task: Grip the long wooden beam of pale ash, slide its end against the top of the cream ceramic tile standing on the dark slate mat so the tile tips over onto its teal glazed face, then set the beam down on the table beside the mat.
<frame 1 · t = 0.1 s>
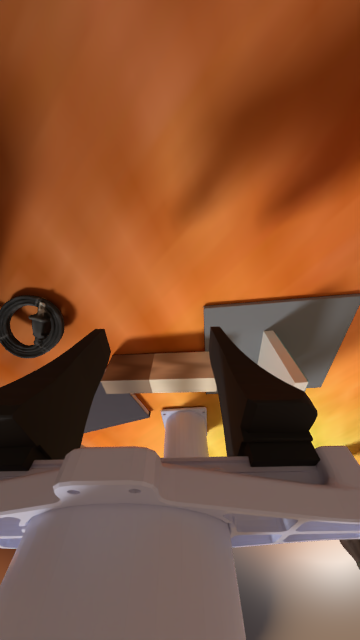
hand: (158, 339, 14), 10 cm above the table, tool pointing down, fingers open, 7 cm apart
tile: (263, 354, 27), point 1 cm above the table, touching slate mat
long wooden beam: (162, 359, 28), on the table, touching slate mat
slate mat: (269, 350, 27), on the table
sauce bottle: (317, 458, 47), on the table
notebook: (81, 402, 35), on the table
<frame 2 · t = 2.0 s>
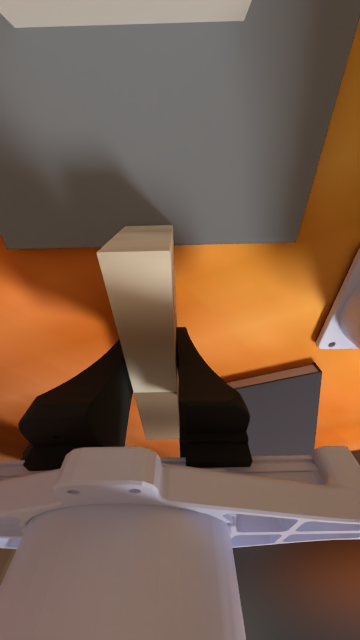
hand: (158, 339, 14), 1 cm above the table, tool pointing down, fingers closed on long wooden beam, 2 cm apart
milk frother: (76, 444, 25), on the table
long wooden beam: (159, 329, 14), on the table, touching gripper, slate mat
notebook: (252, 429, 24), on the table
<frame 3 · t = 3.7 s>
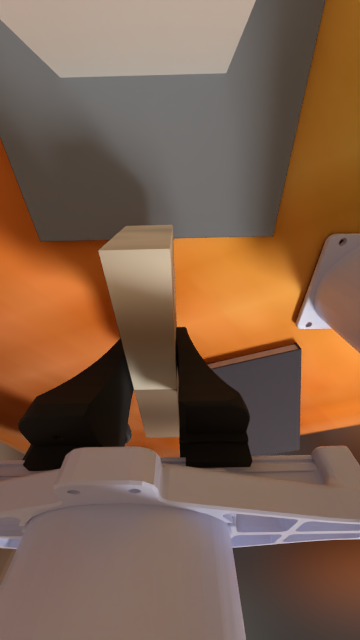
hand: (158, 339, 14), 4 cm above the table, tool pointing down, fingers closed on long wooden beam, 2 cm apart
milk frother: (85, 421, 27), on the table
tile: (141, 55, 9), point 1 cm above the table, touching slate mat
long wooden beam: (159, 328, 15), point 3 cm above the table, touching gripper
slate mat: (140, 29, 9), on the table
notebook: (244, 407, 27), on the table
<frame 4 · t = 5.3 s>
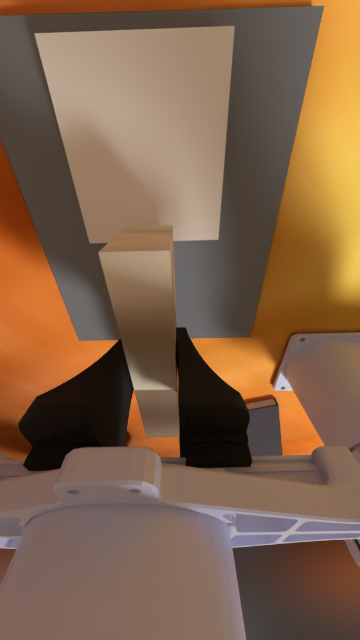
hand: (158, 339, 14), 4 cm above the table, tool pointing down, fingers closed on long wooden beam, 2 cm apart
tile: (154, 239, 13), point 1 cm above the table, tilted 90°, touching slate mat
long wooden beam: (159, 328, 15), point 3 cm above the table, touching gripper
slate mat: (156, 233, 14), on the table
notebook: (235, 440, 32), on the table
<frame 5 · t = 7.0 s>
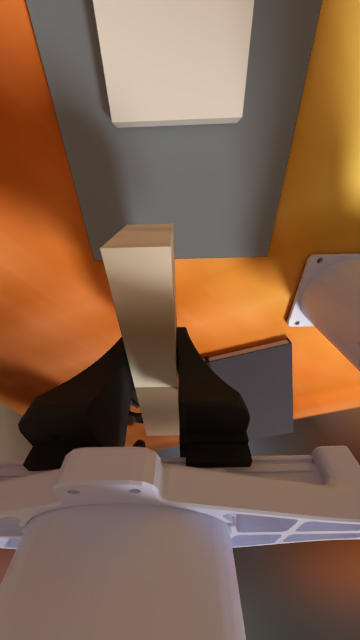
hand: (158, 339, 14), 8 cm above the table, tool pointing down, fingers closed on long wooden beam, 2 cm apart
milk frother: (110, 405, 32), on the table
tile: (176, 122, 13), point 1 cm above the table, tilted 90°, touching slate mat
long wooden beam: (160, 327, 15), point 7 cm above the table, touching gripper
slate mat: (177, 126, 14), on the table
notebook: (245, 394, 31), on the table
when the fingers open (3 cm above the table, at t = 8.6 s): long wooden beam drops 1 cm, on the table.
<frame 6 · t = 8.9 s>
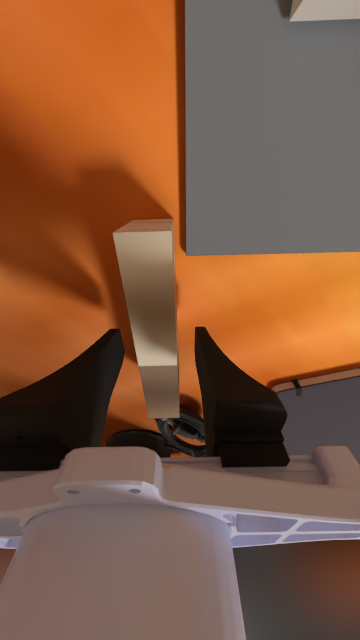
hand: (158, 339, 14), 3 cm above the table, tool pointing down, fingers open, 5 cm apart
milk frother: (157, 432, 26), on the table
long wooden beam: (161, 315, 16), on the table
notebook: (322, 420, 26), on the table
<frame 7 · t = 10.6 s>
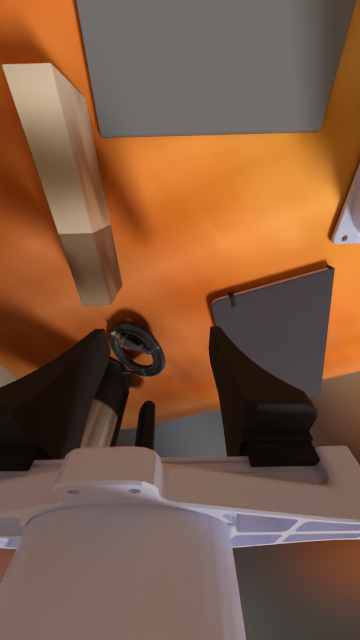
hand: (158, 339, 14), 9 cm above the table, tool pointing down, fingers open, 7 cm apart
milk frother: (115, 360, 28), on the table
long wooden beam: (94, 212, 18), on the table
notebook: (269, 348, 28), on the table
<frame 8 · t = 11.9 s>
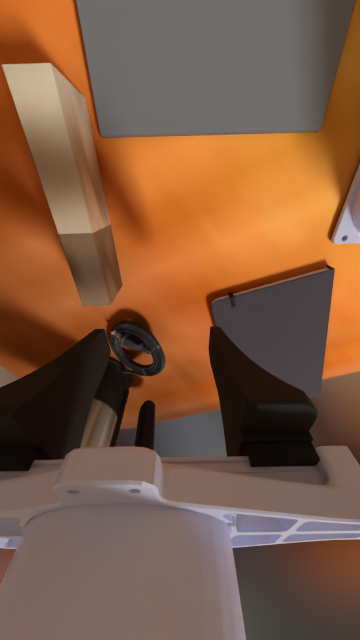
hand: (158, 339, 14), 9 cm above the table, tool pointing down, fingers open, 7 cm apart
milk frother: (115, 360, 28), on the table
long wooden beam: (94, 212, 18), on the table
notebook: (269, 348, 28), on the table
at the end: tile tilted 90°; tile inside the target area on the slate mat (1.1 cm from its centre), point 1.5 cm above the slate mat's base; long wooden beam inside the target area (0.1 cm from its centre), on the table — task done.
